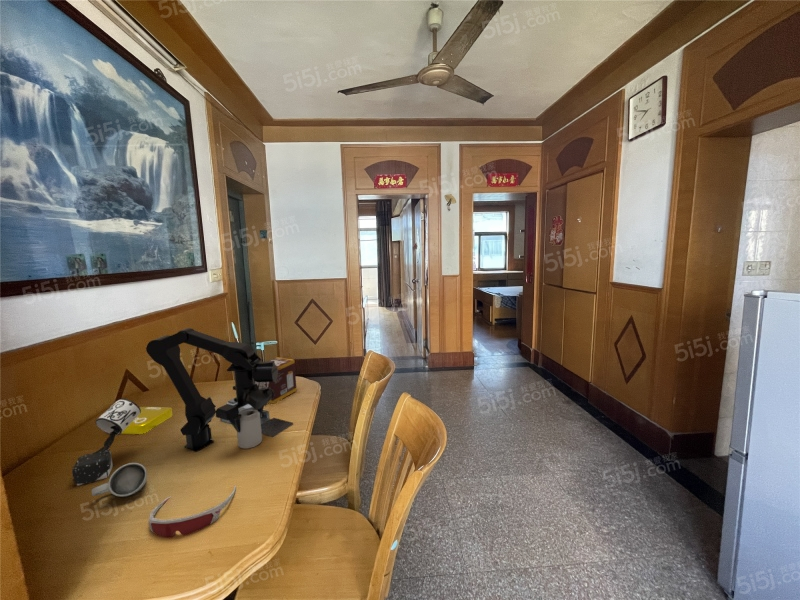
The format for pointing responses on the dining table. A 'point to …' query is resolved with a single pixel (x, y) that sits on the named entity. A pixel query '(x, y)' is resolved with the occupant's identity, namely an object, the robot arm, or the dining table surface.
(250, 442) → the can
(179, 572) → the dining table surface
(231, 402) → the grey stepped machine block
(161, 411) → the element tile
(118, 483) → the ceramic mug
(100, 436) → the dining table surface
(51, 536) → the dining table surface
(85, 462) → the table lamp
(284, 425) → the base
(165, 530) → the sunglasses
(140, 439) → the dining table surface
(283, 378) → the supplement box
